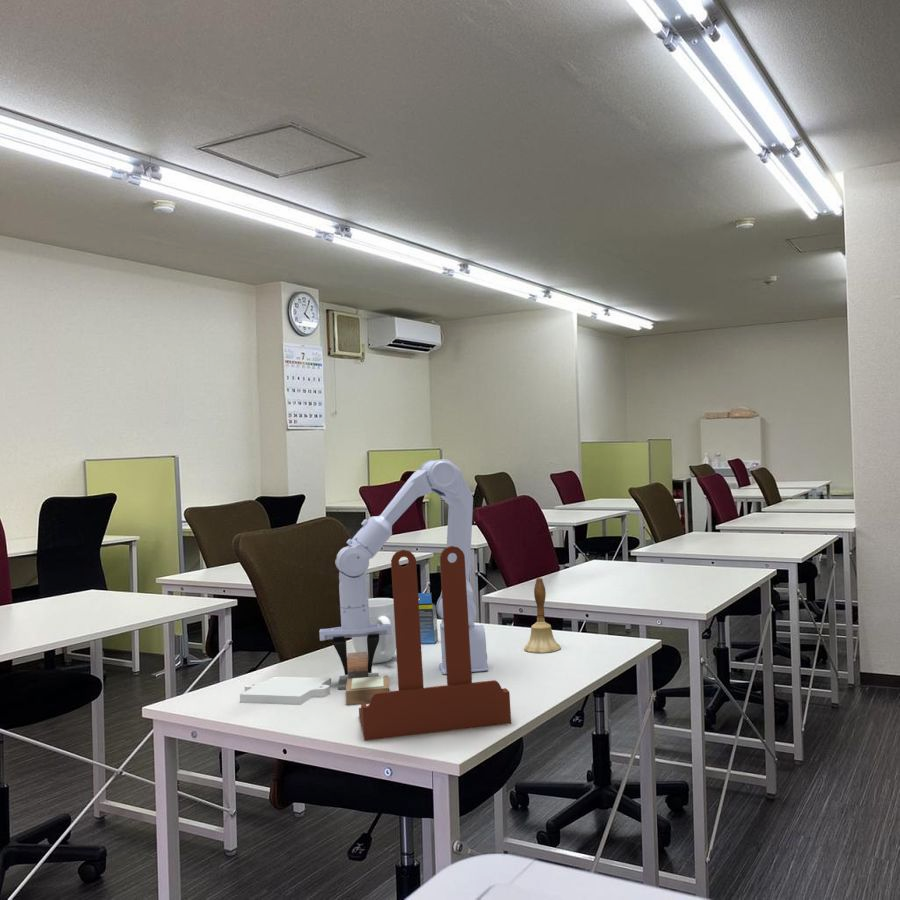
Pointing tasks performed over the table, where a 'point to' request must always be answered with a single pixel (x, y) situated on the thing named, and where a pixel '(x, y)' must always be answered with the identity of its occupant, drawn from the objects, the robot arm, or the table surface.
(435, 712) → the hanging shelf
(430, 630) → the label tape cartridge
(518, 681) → the table surface
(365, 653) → the block
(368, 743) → the table surface
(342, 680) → the mat
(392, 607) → the mug
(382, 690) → the stand
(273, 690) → the mounting plate
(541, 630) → the hand bell
